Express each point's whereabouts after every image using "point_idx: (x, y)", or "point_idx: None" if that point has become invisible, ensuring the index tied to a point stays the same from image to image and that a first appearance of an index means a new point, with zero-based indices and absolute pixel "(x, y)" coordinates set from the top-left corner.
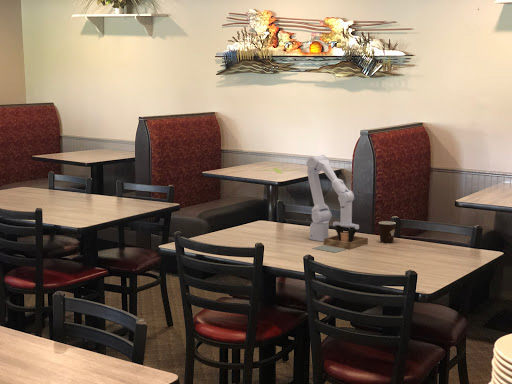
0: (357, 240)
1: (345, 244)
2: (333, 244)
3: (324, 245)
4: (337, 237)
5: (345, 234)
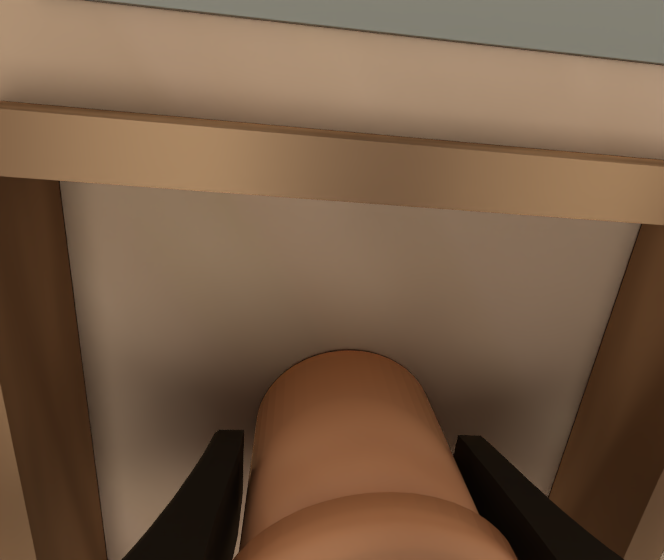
0: (9, 497)
1: (95, 115)
2: (475, 145)
3: (660, 61)
4: None
5: (299, 538)
